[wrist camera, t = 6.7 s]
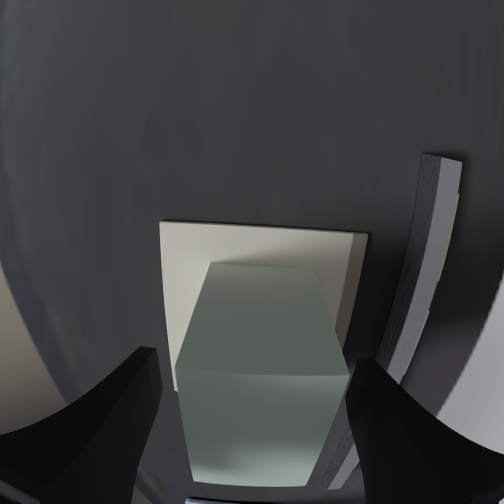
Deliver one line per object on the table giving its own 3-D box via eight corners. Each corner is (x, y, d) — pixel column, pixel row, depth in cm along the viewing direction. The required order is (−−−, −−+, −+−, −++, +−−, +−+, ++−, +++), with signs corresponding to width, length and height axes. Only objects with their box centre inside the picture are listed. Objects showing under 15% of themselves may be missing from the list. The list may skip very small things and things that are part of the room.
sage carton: (317, 268, 12) (355, 374, 7) (297, 379, 14) (309, 485, 9) (206, 262, 12) (168, 366, 7) (208, 375, 14) (189, 480, 9)
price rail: (339, 472, 19) (342, 488, 17) (325, 473, 19) (327, 489, 17) (444, 158, 11) (465, 163, 9) (422, 153, 11) (441, 157, 9)
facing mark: (327, 395, 15) (327, 399, 15) (175, 388, 15) (174, 391, 15) (365, 233, 12) (367, 235, 12) (161, 220, 12) (159, 222, 12)
